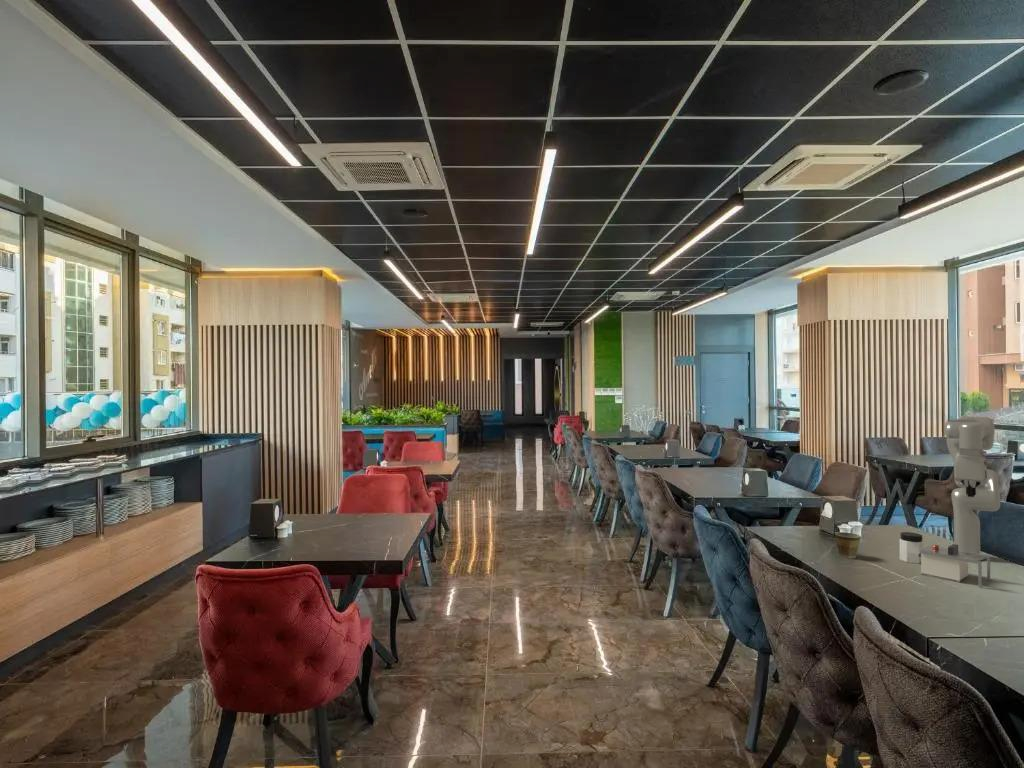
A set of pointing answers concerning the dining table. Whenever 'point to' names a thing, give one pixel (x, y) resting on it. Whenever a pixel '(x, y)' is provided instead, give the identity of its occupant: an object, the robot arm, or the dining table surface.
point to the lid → (946, 551)
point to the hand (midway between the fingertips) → (970, 496)
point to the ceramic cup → (847, 544)
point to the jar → (910, 547)
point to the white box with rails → (950, 566)
